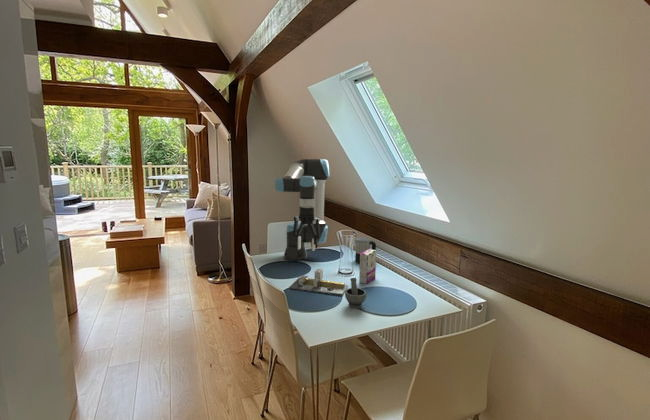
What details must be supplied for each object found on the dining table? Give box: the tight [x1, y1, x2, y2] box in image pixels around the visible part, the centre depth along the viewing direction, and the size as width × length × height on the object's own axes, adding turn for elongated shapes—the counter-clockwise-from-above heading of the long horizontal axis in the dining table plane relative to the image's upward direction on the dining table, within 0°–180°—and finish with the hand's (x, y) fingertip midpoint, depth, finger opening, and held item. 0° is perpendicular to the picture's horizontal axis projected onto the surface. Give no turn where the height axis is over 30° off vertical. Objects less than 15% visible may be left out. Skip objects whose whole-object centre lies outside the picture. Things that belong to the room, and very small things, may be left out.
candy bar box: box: [358, 248, 377, 285], centre depth 192 cm, size 11×5×16 cm, turn 147°
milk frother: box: [354, 237, 377, 264], centre depth 228 cm, size 14×16×15 cm
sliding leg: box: [313, 268, 324, 287], centre depth 182 cm, size 8×3×7 cm, turn 163°
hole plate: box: [289, 278, 349, 297], centre depth 182 cm, size 12×28×1 cm, turn 73°
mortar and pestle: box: [344, 277, 367, 310], centre depth 162 cm, size 11×9×12 cm
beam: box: [297, 275, 346, 288], centre depth 182 cm, size 7×25×3 cm, turn 73°
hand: (306, 249), depth 183 cm, fingers open, 7 cm apart
